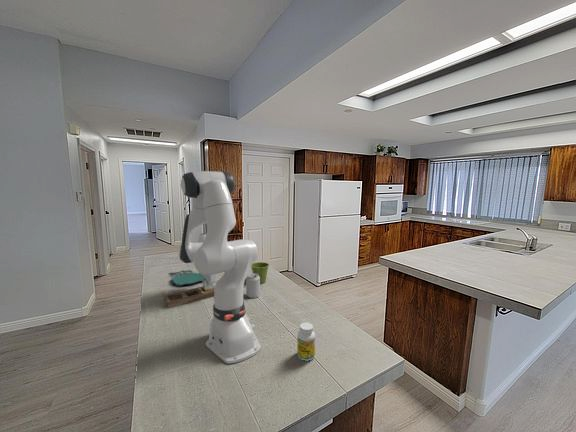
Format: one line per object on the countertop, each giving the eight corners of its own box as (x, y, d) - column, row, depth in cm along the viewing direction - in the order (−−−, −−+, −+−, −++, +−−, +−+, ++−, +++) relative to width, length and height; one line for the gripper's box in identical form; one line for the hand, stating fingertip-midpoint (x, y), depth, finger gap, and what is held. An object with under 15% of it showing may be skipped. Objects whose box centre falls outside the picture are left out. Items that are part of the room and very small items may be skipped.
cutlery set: (175, 290, 142) (175, 286, 142) (165, 275, 166) (165, 272, 166) (209, 282, 154) (209, 279, 154) (195, 270, 178) (195, 267, 178)
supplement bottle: (316, 352, 90) (317, 323, 89) (312, 363, 84) (312, 332, 83) (300, 348, 92) (300, 319, 91) (294, 358, 86) (295, 328, 85)
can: (257, 299, 131) (257, 277, 130) (244, 297, 133) (244, 276, 132) (261, 293, 139) (261, 273, 137) (249, 292, 140) (249, 272, 139)
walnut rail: (219, 295, 136) (219, 290, 136) (168, 308, 121) (168, 302, 120) (212, 288, 145) (212, 283, 145) (163, 299, 129) (163, 294, 129)
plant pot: (270, 279, 161) (270, 262, 159) (267, 286, 149) (267, 268, 148) (253, 278, 162) (252, 261, 161) (248, 285, 150) (248, 267, 149)
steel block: (213, 292, 137) (213, 278, 136) (205, 294, 134) (204, 280, 133) (210, 289, 141) (210, 276, 140) (202, 291, 138) (202, 277, 137)
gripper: (219, 265, 129) (220, 290, 131) (206, 256, 145) (207, 279, 147) (207, 267, 125) (208, 293, 127) (195, 258, 142) (196, 281, 143)
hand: (207, 285), depth 137 cm, fingers closed on steel block, 4 cm apart
